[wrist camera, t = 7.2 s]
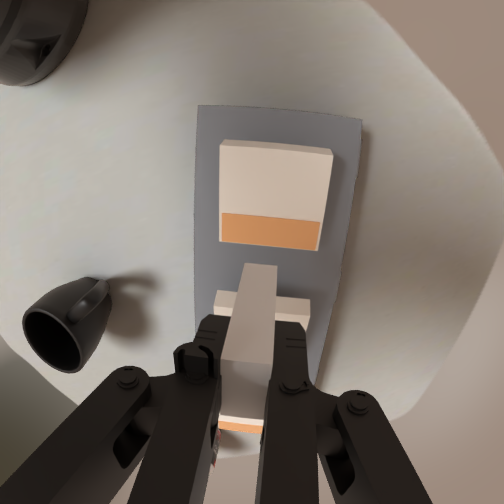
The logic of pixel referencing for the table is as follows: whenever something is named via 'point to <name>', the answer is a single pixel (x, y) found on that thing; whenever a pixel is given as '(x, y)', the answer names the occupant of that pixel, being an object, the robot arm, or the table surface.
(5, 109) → the table surface
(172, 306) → the table surface
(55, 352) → the mug
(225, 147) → the switch
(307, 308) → the switch
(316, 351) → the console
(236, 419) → the switch
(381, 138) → the table surface
